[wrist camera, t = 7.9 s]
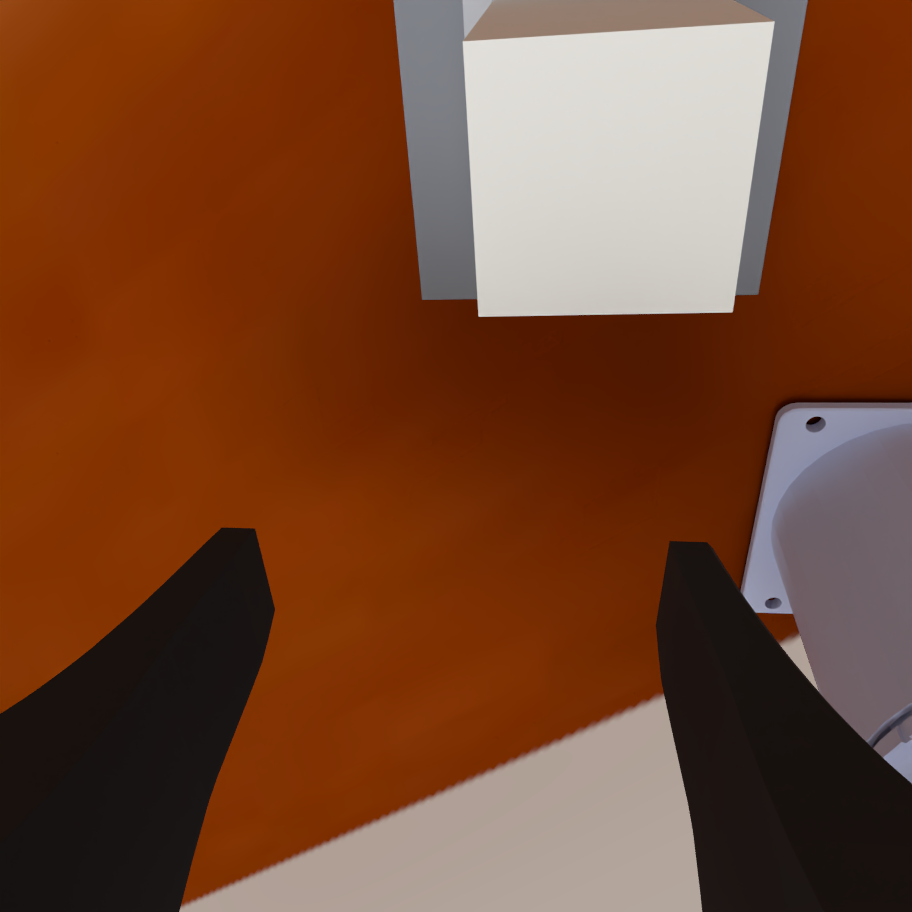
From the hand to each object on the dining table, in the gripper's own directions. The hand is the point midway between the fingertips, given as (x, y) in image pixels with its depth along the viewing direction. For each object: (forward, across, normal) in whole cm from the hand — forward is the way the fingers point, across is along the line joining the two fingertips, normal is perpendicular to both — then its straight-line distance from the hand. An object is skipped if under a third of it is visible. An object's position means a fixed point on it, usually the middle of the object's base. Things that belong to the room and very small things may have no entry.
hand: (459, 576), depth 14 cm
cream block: (+8, -2, -6) cm, 10 cm away
